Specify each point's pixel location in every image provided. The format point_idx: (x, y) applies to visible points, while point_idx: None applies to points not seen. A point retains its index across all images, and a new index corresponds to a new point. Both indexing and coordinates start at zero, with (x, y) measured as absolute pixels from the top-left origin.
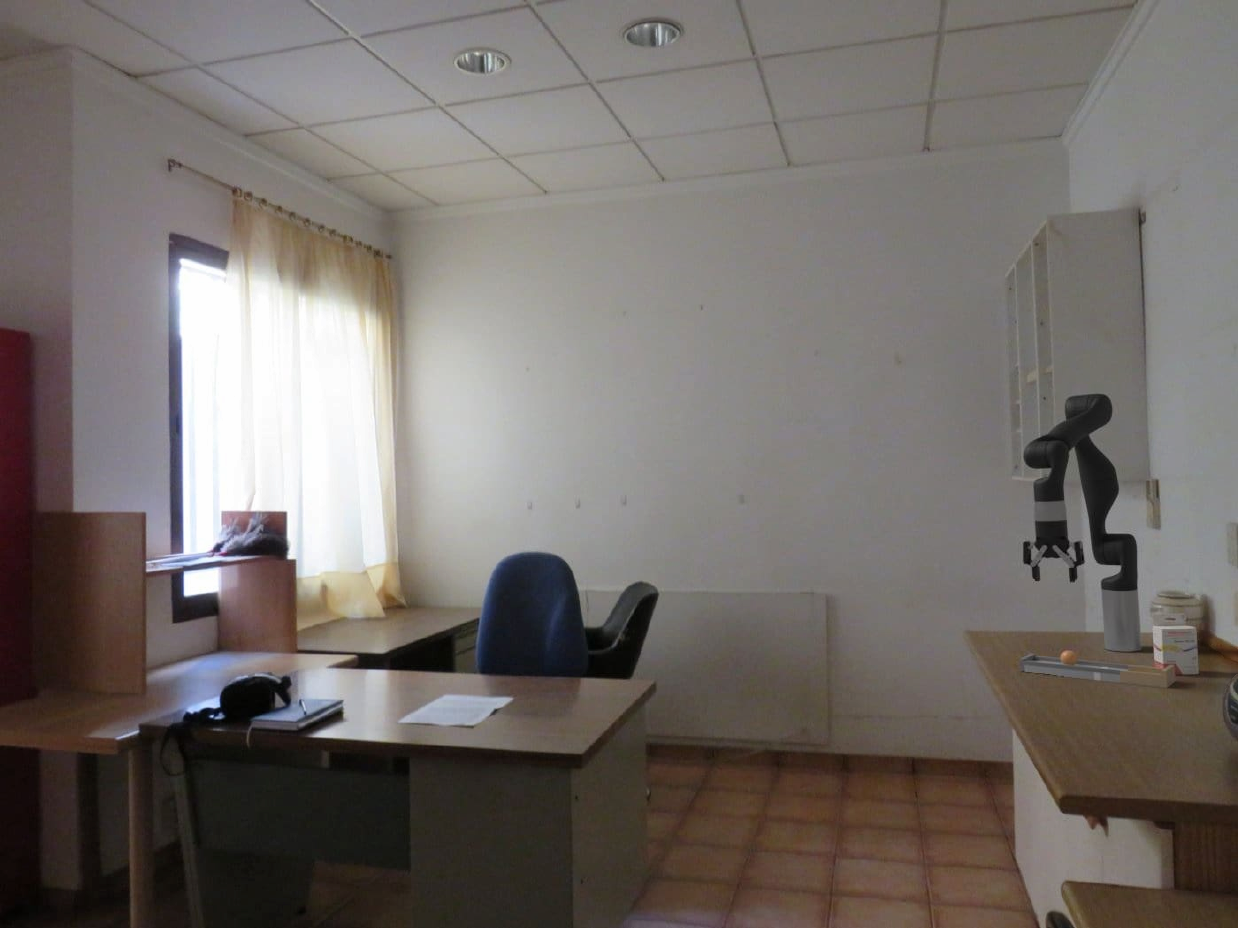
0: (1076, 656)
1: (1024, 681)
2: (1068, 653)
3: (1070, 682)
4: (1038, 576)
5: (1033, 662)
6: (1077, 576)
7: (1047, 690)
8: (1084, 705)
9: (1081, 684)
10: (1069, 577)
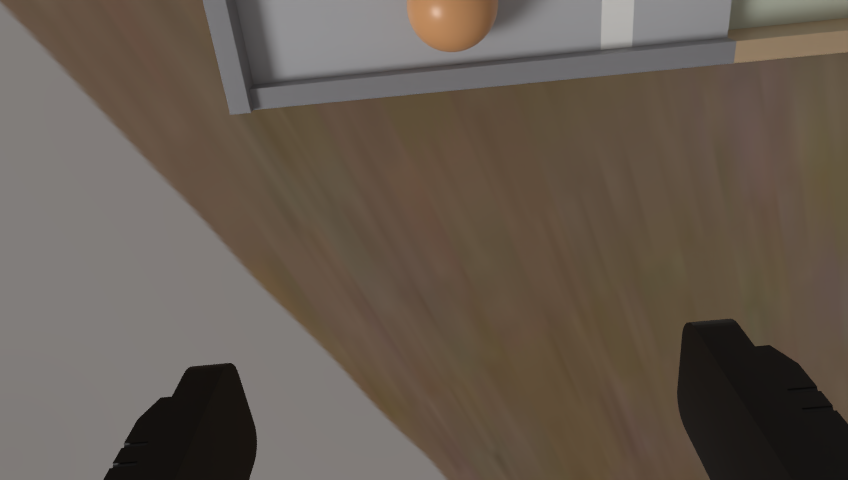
0: (496, 3)
1: (360, 249)
2: (464, 39)
3: (518, 164)
4: (228, 449)
5: (303, 104)
6: (807, 378)
7: (495, 325)
8: (665, 425)
9: (568, 172)
10: (703, 463)
